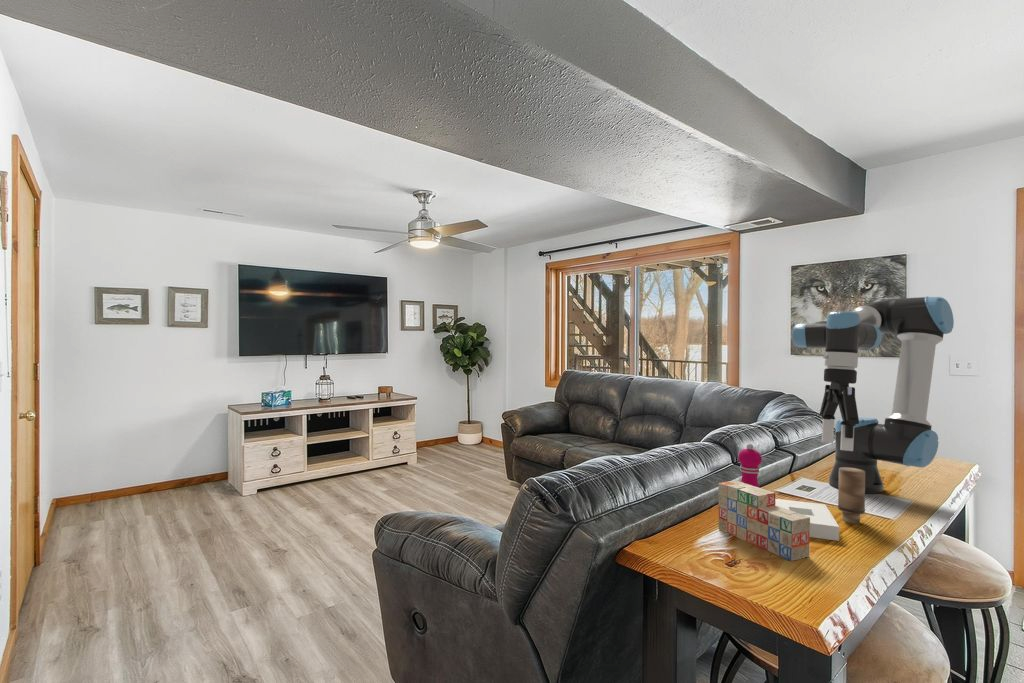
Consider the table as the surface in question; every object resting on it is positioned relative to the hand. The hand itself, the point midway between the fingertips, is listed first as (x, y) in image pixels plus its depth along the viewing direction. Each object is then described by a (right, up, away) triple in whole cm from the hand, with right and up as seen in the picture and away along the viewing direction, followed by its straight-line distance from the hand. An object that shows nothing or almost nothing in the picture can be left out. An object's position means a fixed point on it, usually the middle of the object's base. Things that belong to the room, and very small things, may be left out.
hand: (836, 446), depth 138 cm
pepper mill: (-21, -21, +5) cm, 30 cm away
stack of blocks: (-27, -21, -14) cm, 37 cm away
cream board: (-11, -20, -2) cm, 23 cm away
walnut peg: (+4, -21, 0) cm, 21 cm away
